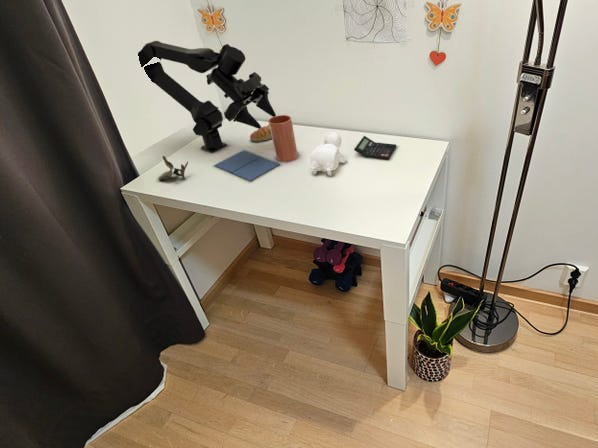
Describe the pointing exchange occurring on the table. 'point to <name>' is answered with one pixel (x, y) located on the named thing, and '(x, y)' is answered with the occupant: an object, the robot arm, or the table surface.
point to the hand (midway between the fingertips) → (267, 121)
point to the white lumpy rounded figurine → (327, 154)
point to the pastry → (261, 134)
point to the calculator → (374, 149)
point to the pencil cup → (283, 138)
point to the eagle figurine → (172, 170)
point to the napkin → (247, 165)
